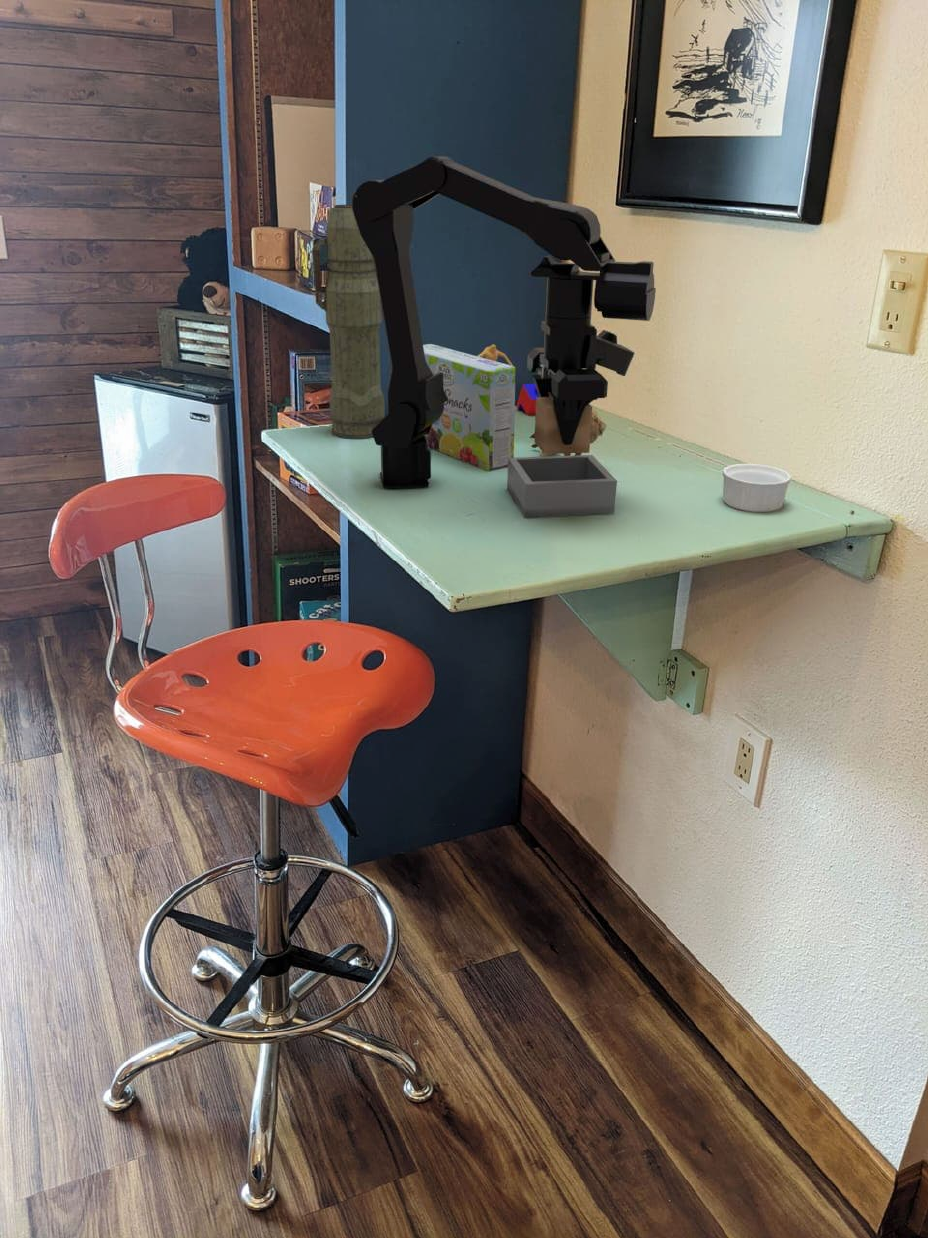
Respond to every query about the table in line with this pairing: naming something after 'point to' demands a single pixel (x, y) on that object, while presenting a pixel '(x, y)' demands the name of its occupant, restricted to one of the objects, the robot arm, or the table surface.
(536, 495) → the grey square tray
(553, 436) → the walnut cube
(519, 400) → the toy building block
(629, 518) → the table surface
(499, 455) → the snack box
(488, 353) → the figurine
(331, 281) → the thermos
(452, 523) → the table surface
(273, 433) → the table surface
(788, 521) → the table surface
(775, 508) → the ramekin
